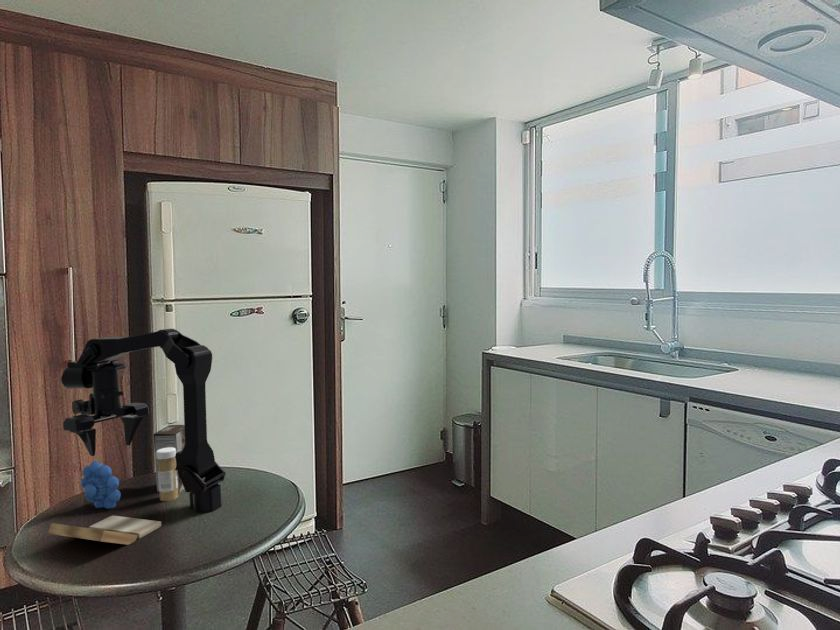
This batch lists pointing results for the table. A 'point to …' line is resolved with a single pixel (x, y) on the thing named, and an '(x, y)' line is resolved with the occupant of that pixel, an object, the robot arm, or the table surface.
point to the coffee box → (170, 445)
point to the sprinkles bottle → (167, 474)
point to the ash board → (127, 525)
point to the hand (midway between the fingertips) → (110, 450)
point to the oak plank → (91, 534)
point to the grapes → (100, 485)
